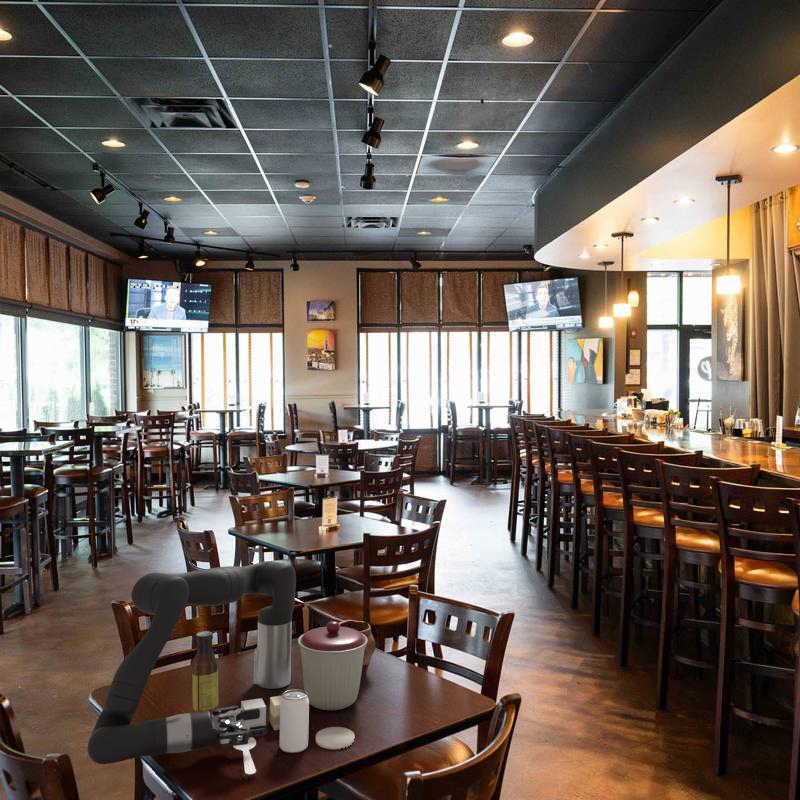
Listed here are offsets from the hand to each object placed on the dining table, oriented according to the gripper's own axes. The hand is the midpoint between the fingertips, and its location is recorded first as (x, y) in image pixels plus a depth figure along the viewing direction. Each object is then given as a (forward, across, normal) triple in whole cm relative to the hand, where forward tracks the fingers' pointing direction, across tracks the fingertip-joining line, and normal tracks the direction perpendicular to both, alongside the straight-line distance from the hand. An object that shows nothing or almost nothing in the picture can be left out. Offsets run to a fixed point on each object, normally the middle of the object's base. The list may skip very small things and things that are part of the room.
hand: (263, 720), depth 164 cm
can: (+7, 0, +7) cm, 10 cm away
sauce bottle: (-10, +24, +7) cm, 27 cm away
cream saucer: (+17, 0, +7) cm, 18 cm away
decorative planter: (+33, +37, +7) cm, 50 cm away
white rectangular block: (0, +12, +7) cm, 14 cm away
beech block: (+7, +12, +7) cm, 16 cm away
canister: (+22, +20, +7) cm, 31 cm away
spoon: (-4, 0, +8) cm, 8 cm away
